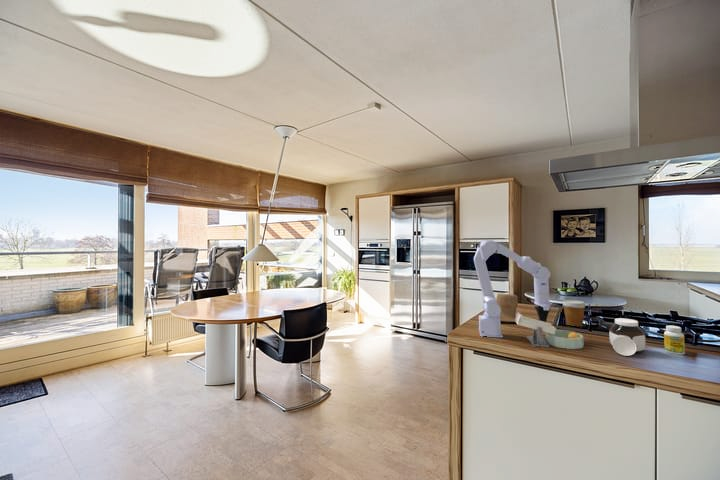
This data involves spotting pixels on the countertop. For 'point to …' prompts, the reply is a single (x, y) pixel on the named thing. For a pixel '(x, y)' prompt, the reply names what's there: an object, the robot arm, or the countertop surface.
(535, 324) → the tipping trough
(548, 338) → the green round bowl
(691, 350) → the countertop surface
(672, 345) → the supplement bottle
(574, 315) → the disposable coffee cup
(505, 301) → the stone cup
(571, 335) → the ball
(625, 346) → the spread jar
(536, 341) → the launcher stand
